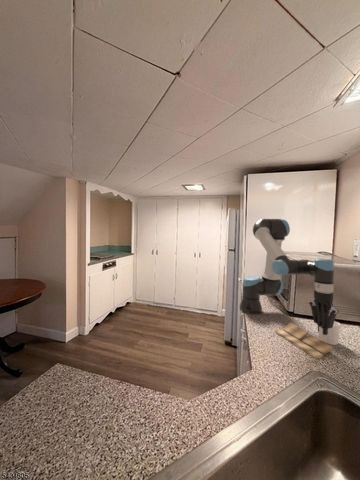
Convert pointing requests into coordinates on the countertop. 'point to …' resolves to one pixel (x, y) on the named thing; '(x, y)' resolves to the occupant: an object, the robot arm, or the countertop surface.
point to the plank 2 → (317, 344)
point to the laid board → (299, 344)
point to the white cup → (333, 334)
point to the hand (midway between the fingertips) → (322, 340)
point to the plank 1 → (295, 331)
